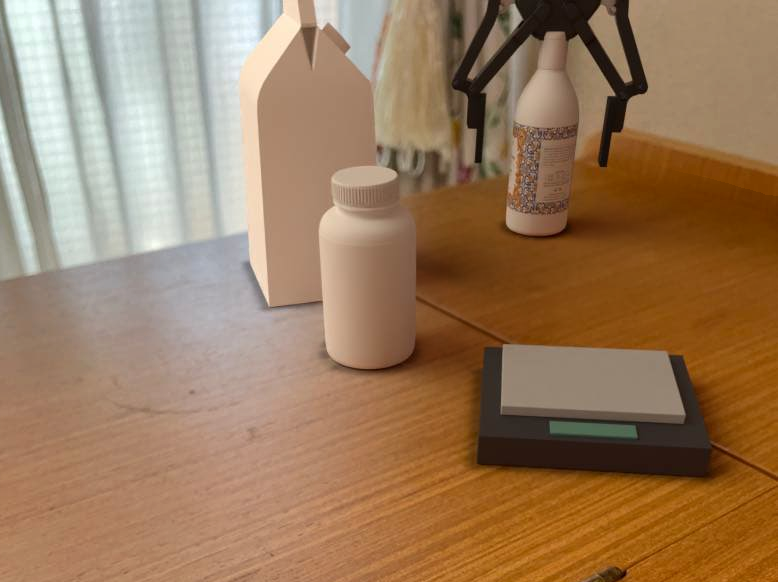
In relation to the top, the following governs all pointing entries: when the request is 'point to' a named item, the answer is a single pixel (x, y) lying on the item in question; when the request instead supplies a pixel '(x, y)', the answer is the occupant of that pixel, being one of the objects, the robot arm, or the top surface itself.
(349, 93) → the milk
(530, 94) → the bath foam
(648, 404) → the scale
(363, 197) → the pill bottle
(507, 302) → the top surface
